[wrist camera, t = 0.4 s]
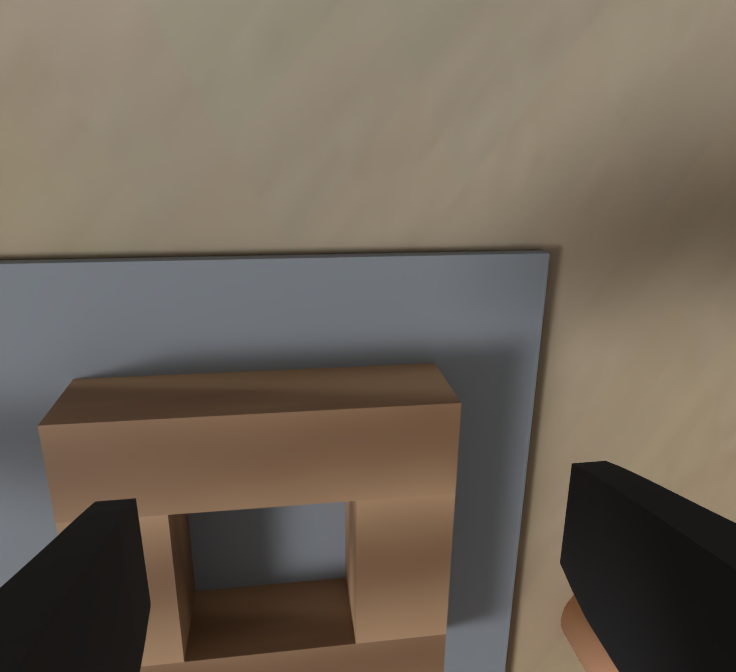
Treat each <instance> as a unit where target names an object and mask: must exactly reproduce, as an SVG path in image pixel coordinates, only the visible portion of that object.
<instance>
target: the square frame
mask: <svg viewBox="0 0 736 672" xmlns="http://www.w3.org/2000/svg"><path fill="white" fill-rule="evenodd" d="M460 416H461V402H460V400H459V399H458V397H457V396H456V394H455V393H454V391H453V390H452V388H451V387H450V385H449V384H448V382H447V381H446V379H445V378H444V376H443V375H442V373H441V372H440V370H439V369H438V367H437V366H436V364H435V363H426V364H403V365H381V366H358V367H335V368H313V369H290V370H267V371H245V372H222V373H200V374H177V375H154V376H132V377H109V378H86V379H73V380H72V381H71V383H70V384H69V385H68V387H67V388H66V389H65V390H64V392H63V393H62V394H61V396H60V397H59V398H58V400H57V401H56V402H55V404H54V405H53V406H52V407H51V409H50V410H49V411H48V413H47V414H46V415H45V417H44V418H43V419H42V421H41V422H40V423H39V424H38V431H39V436H40V442H41V447H42V453H43V458H44V464H45V469H46V475H47V480H48V486H49V491H50V497H51V502H52V508H53V513H54V519H55V524H56V530H57V535H59V534H60V533H61V532H62V531H63V530H64V529H65V528H66V527H67V526H68V525H69V524H71V523H72V522H73V521H74V520H75V519H76V518H77V517H78V516H79V515H80V514H81V513H82V512H84V511H85V510H86V509H87V508H88V507H89V506H91V505H92V504H93V503H94V502H95V501H107V500H120V499H132V498H136V502H137V509H138V516H139V523H140V530H141V537H142V544H143V552H144V559H145V566H146V573H147V580H148V587H149V594H150V601H151V608H150V614H149V621H148V627H147V634H146V640H145V646H144V652H143V658H142V664H141V669H140V672H444V659H445V644H446V628H447V613H448V598H449V583H450V568H451V553H452V537H453V522H454V507H455V492H456V477H457V461H458V446H459V431H460ZM334 502H345V578H336V579H325V580H314V581H303V582H292V583H281V584H270V585H259V586H248V587H237V588H226V589H215V590H204V591H196V590H195V580H194V570H193V560H192V550H191V539H190V529H189V519H188V513H200V512H213V511H227V510H240V509H254V508H267V507H281V506H294V505H307V504H321V503H334Z"/></svg>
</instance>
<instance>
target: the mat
mask: <svg viewBox="0 0 736 672" xmlns="http://www.w3.org/2000/svg"><path fill="white" fill-rule="evenodd" d="M549 257H550V253H548V252H546V251H544V250H525V251H472V252H419V253H366V254H312V255H259V256H206V257H153V258H99V259H46V260H0V587H1V586H2V585H4V584H5V583H6V582H7V581H8V580H9V579H10V578H11V577H13V576H14V575H15V574H16V573H17V572H18V571H19V570H20V569H21V568H23V567H24V566H25V565H26V564H27V563H28V562H29V561H30V560H31V559H33V558H34V557H35V556H36V555H37V554H38V553H39V552H40V551H41V550H42V549H44V548H45V547H46V546H47V545H48V544H49V543H50V542H51V541H52V540H53V539H54V538H55V537H57V536H58V535H57V530H56V524H55V519H54V513H53V508H52V502H51V497H50V491H49V486H48V480H47V475H46V469H45V464H44V458H43V453H42V447H41V442H40V436H39V431H38V424H39V423H40V422H41V421H42V419H43V418H44V417H45V415H46V414H47V413H48V411H49V410H50V409H51V407H52V406H53V405H54V404H55V402H56V401H57V400H58V398H59V397H60V396H61V394H62V393H63V392H64V390H65V389H66V388H67V387H68V385H69V384H70V383H71V381H72V380H73V379H86V378H109V377H132V376H154V375H177V374H200V373H222V372H245V371H267V370H290V369H313V368H335V367H358V366H381V365H403V364H426V363H435V364H436V366H437V367H438V369H439V370H440V372H441V373H442V375H443V376H444V378H445V379H446V381H447V382H448V384H449V385H450V387H451V388H452V390H453V391H454V393H455V394H456V396H457V397H458V399H459V400H460V402H461V416H460V431H459V446H458V461H457V477H456V492H455V507H454V522H453V537H452V553H451V568H450V583H449V598H448V613H447V628H446V644H445V659H444V672H505V666H506V657H507V647H508V638H509V629H510V619H511V610H512V601H513V592H514V582H515V573H516V564H517V554H518V545H519V536H520V527H521V517H522V508H523V499H524V489H525V480H526V471H527V462H528V452H529V443H530V434H531V425H532V415H533V406H534V397H535V387H536V378H537V369H538V360H539V350H540V341H541V332H542V322H543V313H544V304H545V295H546V285H547V276H548V267H549ZM188 519H189V529H190V539H191V550H192V560H193V570H194V580H195V590H196V591H204V590H215V589H226V588H237V587H248V586H259V585H270V584H281V583H292V582H303V581H314V580H325V579H336V578H345V502H334V503H321V504H307V505H294V506H281V507H267V508H254V509H240V510H227V511H213V512H200V513H188Z"/></svg>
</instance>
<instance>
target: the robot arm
mask: <svg viewBox="0 0 736 672" xmlns="http://www.w3.org/2000/svg"><path fill="white" fill-rule="evenodd" d="M560 564H561V566H562V568H563V571H564V573H565V575H566V577H567V580H568V582H569V584H570V586H571V589H572V591H573V593H574V595H575V597H576V599H577V602H578V604H579V606H580V608H581V610H582V612H583V614H584V616H585V618H586V620H587V621H588V623H589V625H590V626H591V628H592V630H593V631H594V633H595V634H596V636H597V638H598V639H599V641H600V642H601V644H602V646H603V647H604V649H605V650H606V652H607V654H608V655H609V657H610V659H611V660H612V662H613V663H614V665H615V666H616V668H617V670H618V671H619V672H736V523H734V522H732V521H730V520H728V519H726V518H724V517H722V516H720V515H718V514H716V513H714V512H712V511H710V510H708V509H706V508H704V507H702V506H700V505H698V504H696V503H694V502H692V501H690V500H688V499H686V498H684V497H682V496H680V495H678V494H676V493H674V492H672V491H670V490H668V489H666V488H664V487H662V486H660V485H658V484H656V483H654V482H652V481H650V480H648V479H646V478H644V477H641V476H639V475H637V474H635V473H633V472H631V471H629V470H627V469H624V468H622V467H620V466H617V465H615V464H612V463H610V462H607V461H598V462H585V463H572V467H571V476H570V484H569V492H568V501H567V509H566V517H565V526H564V534H563V542H562V551H561V559H560ZM150 608H151V601H150V594H149V587H148V580H147V573H146V566H145V559H144V552H143V544H142V537H141V530H140V523H139V516H138V509H137V502H136V498H132V499H120V500H107V501H95V502H94V503H93V504H92V505H91V506H89V507H88V508H87V509H86V510H85V511H84V512H82V513H81V514H80V515H79V516H78V517H77V518H76V519H75V520H74V521H73V522H72V523H71V524H69V525H68V526H67V527H66V528H65V529H64V530H63V531H62V532H61V533H60V534H59V535H58V536H57V537H55V538H54V539H53V540H52V541H51V542H50V543H49V544H48V545H47V546H46V547H45V548H44V549H42V550H41V551H40V552H39V553H38V554H37V555H36V556H35V557H34V558H33V559H31V560H30V561H29V562H28V563H27V564H26V565H25V566H24V567H23V568H21V569H20V570H19V571H18V572H17V573H16V574H15V575H14V576H13V577H11V578H10V579H9V580H8V581H7V582H6V583H5V584H4V585H2V586H1V587H0V672H140V669H141V664H142V658H143V652H144V646H145V640H146V634H147V627H148V621H149V614H150Z"/></svg>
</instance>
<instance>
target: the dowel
mask: <svg viewBox="0 0 736 672" xmlns="http://www.w3.org/2000/svg"><path fill="white" fill-rule="evenodd" d="M561 625H562V629H563V631H564V633H565V635H566V637H567V639H568V641H569V642H570V644H571V646H572V648H573V649H574V651H575V653H576V655H577V656H578V658H579V660H580V662H581V663H582V665H583V667H584V669H585V670H586V672H619V671H618V670H617V668H616V666H615V665H614V663H613V662H612V660H611V659H610V657H609V655H608V654H607V652H606V650H605V649H604V647H603V646H602V644H601V642H600V641H599V639H598V638H597V636H596V634H595V633H594V631H593V630H592V628H591V626H590V625H589V623H588V621H587V620H586V618H585V616H584V614H583V612H582V610H581V608H580V606H579V604H578V602H577V599H576V597H575V595H574V596H573V597H572V598H571V599H570V601H569V602H568V603H567V605H566V607H565V608H564V611H563V613H562V618H561Z"/></svg>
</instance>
